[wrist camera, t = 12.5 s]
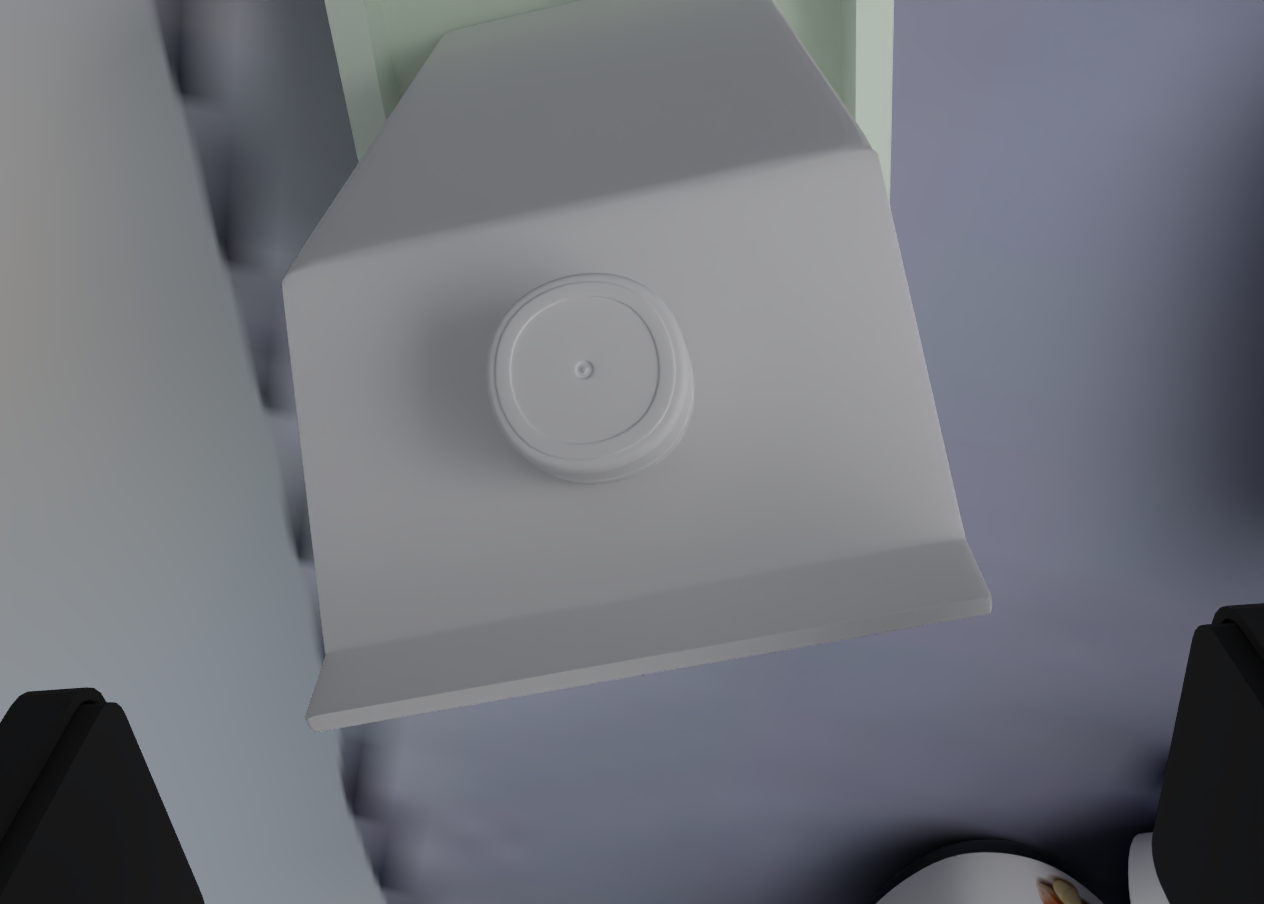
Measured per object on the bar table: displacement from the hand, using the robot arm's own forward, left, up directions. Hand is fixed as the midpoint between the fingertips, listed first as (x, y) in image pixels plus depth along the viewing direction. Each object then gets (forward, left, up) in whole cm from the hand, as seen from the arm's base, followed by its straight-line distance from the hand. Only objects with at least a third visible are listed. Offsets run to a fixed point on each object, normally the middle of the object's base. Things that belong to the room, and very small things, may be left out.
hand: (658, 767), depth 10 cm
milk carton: (0, 0, -21) cm, 21 cm away
